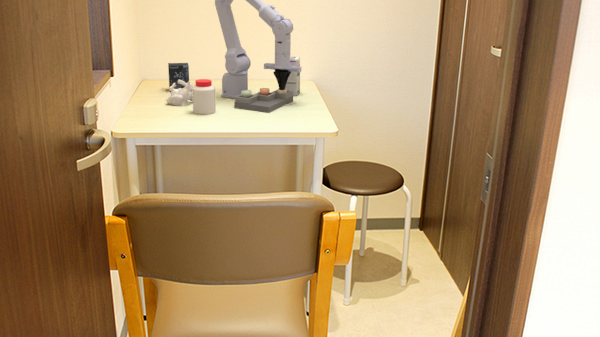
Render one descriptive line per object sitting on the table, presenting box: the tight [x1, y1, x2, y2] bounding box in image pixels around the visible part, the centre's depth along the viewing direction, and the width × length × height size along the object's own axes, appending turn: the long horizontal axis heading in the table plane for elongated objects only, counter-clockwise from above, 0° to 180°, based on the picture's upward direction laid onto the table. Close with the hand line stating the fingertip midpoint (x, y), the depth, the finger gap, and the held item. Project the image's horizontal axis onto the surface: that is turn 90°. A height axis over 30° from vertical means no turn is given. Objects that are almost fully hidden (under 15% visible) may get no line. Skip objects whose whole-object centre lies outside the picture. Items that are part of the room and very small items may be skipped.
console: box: [233, 89, 294, 114], centre depth 222 cm, size 14×20×4 cm
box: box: [167, 62, 190, 89], centre depth 239 cm, size 8×6×11 cm
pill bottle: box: [192, 78, 217, 116], centre depth 208 cm, size 8×8×11 cm
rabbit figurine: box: [165, 80, 194, 107], centre depth 218 cm, size 12×8×10 cm, turn 101°
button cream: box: [276, 88, 287, 93], centre depth 225 cm, size 4×4×2 cm
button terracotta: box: [259, 87, 270, 96], centre depth 221 cm, size 4×4×2 cm
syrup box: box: [285, 55, 301, 97], centre depth 236 cm, size 6×6×14 cm
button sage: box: [241, 90, 252, 98], centre depth 217 cm, size 4×4×2 cm
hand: (282, 89), depth 225 cm, fingers closed, pressing on button cream
